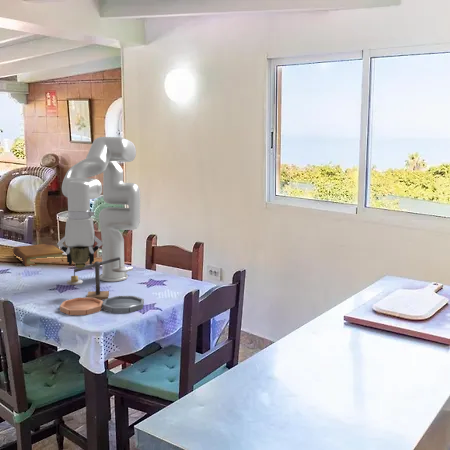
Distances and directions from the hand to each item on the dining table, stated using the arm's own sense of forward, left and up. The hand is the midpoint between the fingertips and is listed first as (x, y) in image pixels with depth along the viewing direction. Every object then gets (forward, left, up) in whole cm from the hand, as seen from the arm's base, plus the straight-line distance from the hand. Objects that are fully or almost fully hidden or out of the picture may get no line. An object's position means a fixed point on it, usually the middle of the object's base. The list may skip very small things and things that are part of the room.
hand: (80, 263), depth 193 cm
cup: (0, 0, -2) cm, 2 cm away
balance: (-12, -7, -17) cm, 22 cm away
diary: (-28, -80, -18) cm, 87 cm away
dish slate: (-12, +9, -17) cm, 23 cm away
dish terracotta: (0, 0, -17) cm, 17 cm away
